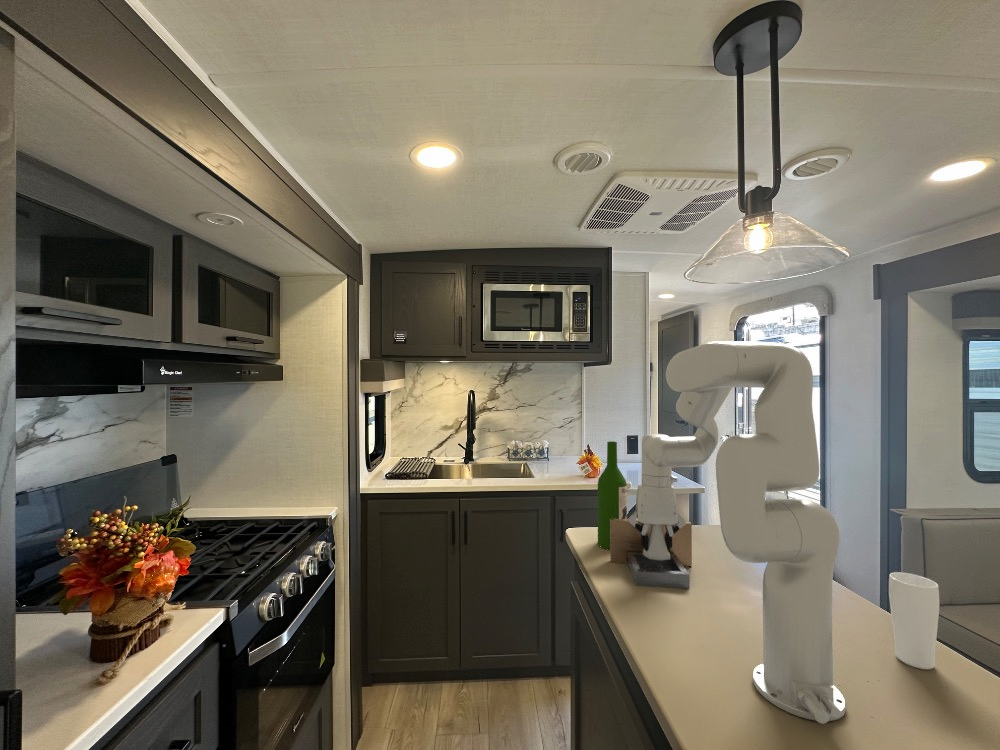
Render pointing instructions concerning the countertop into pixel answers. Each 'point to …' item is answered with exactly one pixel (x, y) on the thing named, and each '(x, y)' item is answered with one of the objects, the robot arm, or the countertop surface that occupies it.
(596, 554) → the countertop surface
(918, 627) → the drinking glass
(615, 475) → the wine bottle
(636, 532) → the cup bracket
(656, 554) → the flask
